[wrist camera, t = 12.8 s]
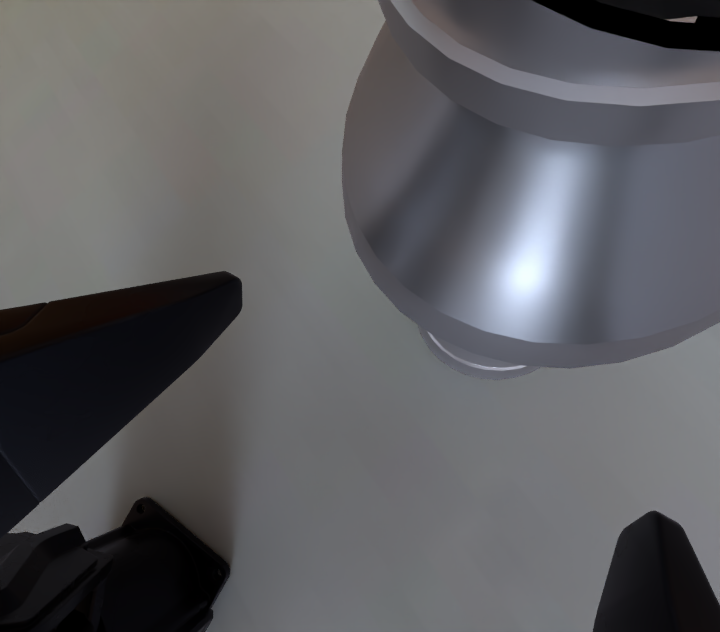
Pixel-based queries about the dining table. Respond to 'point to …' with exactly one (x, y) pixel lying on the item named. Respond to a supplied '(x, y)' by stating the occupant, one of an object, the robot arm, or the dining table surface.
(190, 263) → the dining table surface
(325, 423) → the dining table surface
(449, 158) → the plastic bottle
